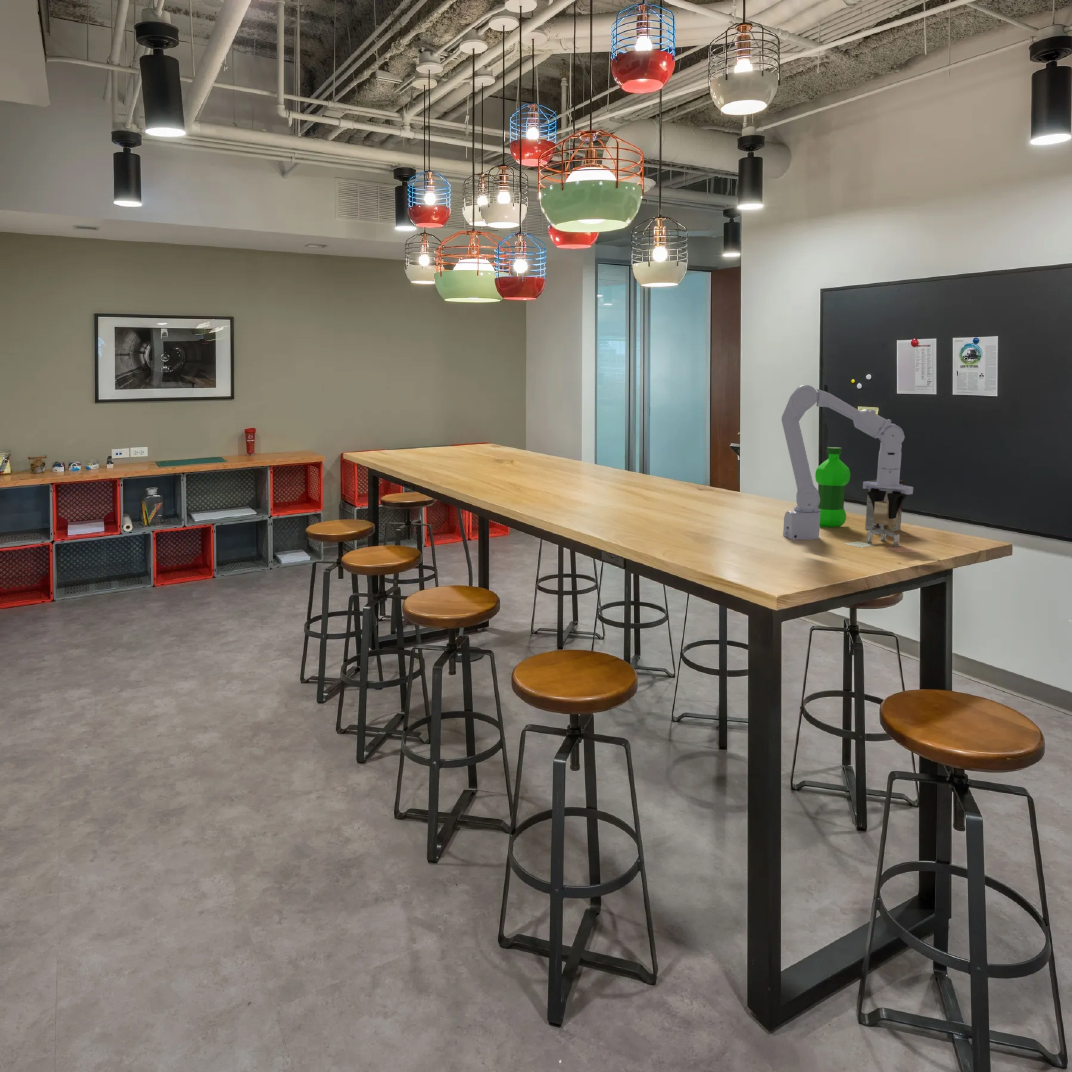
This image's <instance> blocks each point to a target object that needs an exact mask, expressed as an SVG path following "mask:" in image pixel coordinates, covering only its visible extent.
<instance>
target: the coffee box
mask: <svg viewBox="0 0 1072 1072" xmlns="http://www.w3.org/2000/svg"><path fill="white" fill-rule="evenodd" d="M868 481H869V482H877V479H873V480H868ZM904 483H905V480H904V479H899V484H900V485H904ZM882 489H887V488H882ZM870 490H871V489H867V492H868V491H870ZM890 490H892V489H890ZM887 493H893V492H889V491H887V492H886V495H885V498H884V501H888V496H887ZM866 496H867V498H866V510H865V511H866V513H865V524H864V525H865V527H864V530H865V531H871V530H879V529H887V530H889V531H891V532H896V531H901V527H902V525H901V524H902V512H903V511H902V509H903V503H902V504H901V505H900V507H899V510H898V512H897V515H896V519H895V524H890V525H882V524H876V523H873V520H874V509H873V505H872V502H871V500H870V497H869V495H868V493H867V494H866Z"/></svg>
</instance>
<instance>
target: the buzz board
mask: <svg viewBox="0 0 1072 1072" xmlns="http://www.w3.org/2000/svg"><path fill="white" fill-rule="evenodd" d="M843 544H844V545H847V546H853V547H856V548H857V547H858V548H866V547H867V548H868V547H873V546H876V544H873V543H871V544H868V543H866V542H862V541H853V542H852V541H851V542H845V543H843ZM887 549H889V550H891V551H894V552H895V553H919V551H918V550H917V549H913V548H911V547H909V546H907V547H906V546H905V547H904V546H903V547H901V546H899V547H893V546H892V547H889V546H888V547H887Z"/></svg>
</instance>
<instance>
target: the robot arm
mask: <svg viewBox="0 0 1072 1072" xmlns="http://www.w3.org/2000/svg"><path fill="white" fill-rule="evenodd" d="M813 406H816V407H817V408H819V407H820V408H821V407H822V408H828V409H831V410H832V411H834V412H837V413H839V414H841V415H842V416H844V417H847V418H848V419H850V420H852V421H853V426H854V428H856V429H857V430H860V431H861V432H863V433H864V434H866V435H867V436H870V437H872V438H874V439H878V440H879V441H880V443H879V444H880V446H879V451H878V460H877V469H876V470H877V472H876V473H877V474H876V475H877V476H876V480H877V482H869V481H870V480H867V481H863V482H862V489H863V490H865V489H866V490H867V494H868V495H869V497H870V500H871V502H872V505H873V509H874V507H875V502H876V501H884V498H885V495H886V492H887V491H889V492H893V493H887V496H888V501H889V519H894V518H896V515H897V512H898V510H899V507H900V505H901V504H902V505H903V502H904V500H905V499H906V498H907V495H914V494H913V493H914V487H913V486H909V485H900V484H899V480H900V477H901V475H900V474H901V464H902V463H901V462H902V449H903V448H902V447H903V446H902V443H903V442H904V441H905V438H906V436H905V434H904V430H903V428H901V427H900V425H896V423H892V419H889V418H887V419H886V418H884V417H882V416H880V415H878V414H876V412H877V411H876V410H874V409H873V408H872V409H871V410H870V409H868V408H865V409H862V410H859V409H857V408H855V407H853V406H852V405H851V404H849V403H847V402H845V401H843V400H842V399H841V398H839V397H836V396H835V395H833V394H832V393H830V392H827V391H825V390H821V389H818V388H815V387H813V386H811V385H809V384H802V385H800V386H798V387H797V388H796V389H794V392H793V393H792V394H791V395H790V397H789V399H788V401H787V404H786V407H785V408H784V411H783V413H782V415H781V423H782V429H783V431H784V437H785V440H786V445H787V448H788V449H787V450H788V454H789V457H790V463H791V466H792V471H793V476H794V479H795V484H796V488H797V489H796V497H795V498H796V501H795V502H796V505H795V506H794V507H793V509H792V510H787V511H786V512H785V513H784V516H783V517H784V518H783V530H782V531H783V532H782V533H783V534H782V535H783V537H785V538H786V539H790V540H818V539H820V528H821V527H820V511H821V509H820V508H818V505H819V503H820V496H819V489H817V487H815V485H814V481H813V477H812V474H811V470H810V464H809V459H808V455H807V452H806V447H805V443H804V438H803V434H802V430H801V429H802V428H801V425H800V421H801V419H802V417H803V416H804V415H805V413H806V412H807V411H809V410H810V409H811V408H812V407H813ZM882 488H887V489H882ZM868 489H871V490H870V491H868ZM890 489H892V490H890Z"/></svg>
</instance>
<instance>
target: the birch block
mask: <svg viewBox="0 0 1072 1072" xmlns="http://www.w3.org/2000/svg"><path fill="white" fill-rule="evenodd" d="M895 519H896V518H894V519H889V501H876V502H875V507H874V520H873V523H876V524H882V525H890V524H895Z"/></svg>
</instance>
